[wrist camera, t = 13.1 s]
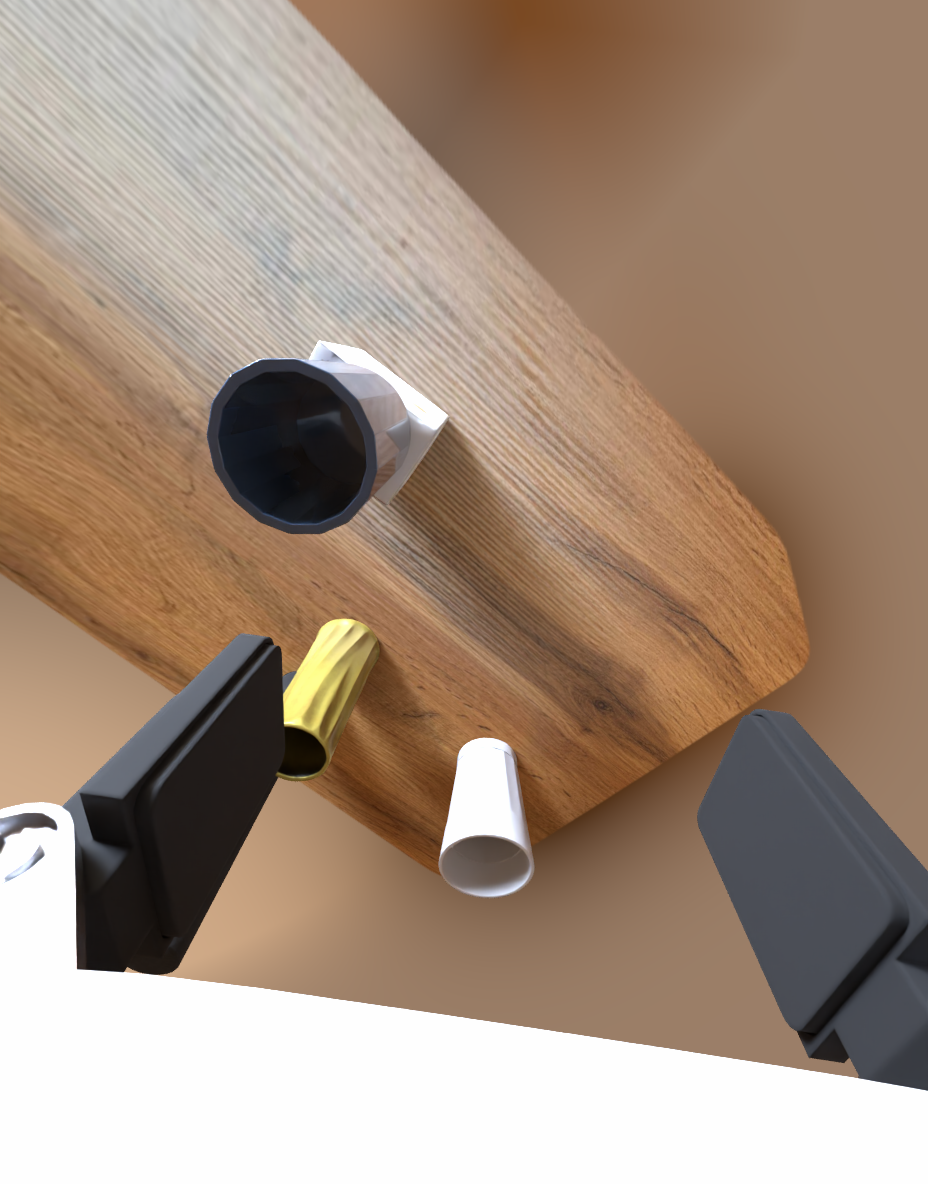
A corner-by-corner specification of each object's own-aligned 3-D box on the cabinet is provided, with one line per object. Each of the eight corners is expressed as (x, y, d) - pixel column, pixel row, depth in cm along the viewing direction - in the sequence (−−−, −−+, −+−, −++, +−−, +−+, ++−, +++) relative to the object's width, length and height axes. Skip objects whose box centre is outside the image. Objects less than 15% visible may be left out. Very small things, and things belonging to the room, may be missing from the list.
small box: (326, 413, 37) (268, 426, 27) (363, 347, 35) (315, 336, 25) (412, 476, 38) (386, 509, 29) (452, 416, 36) (439, 431, 27)
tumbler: (377, 342, 25) (322, 325, 17) (430, 462, 27) (405, 498, 19) (271, 395, 26) (172, 404, 18) (330, 505, 29) (267, 557, 21)
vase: (392, 658, 46) (353, 770, 33) (339, 681, 47) (282, 797, 34) (358, 607, 43) (302, 705, 30) (304, 633, 45) (228, 736, 32)
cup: (470, 797, 53) (465, 907, 42) (436, 747, 50) (421, 850, 39) (536, 775, 51) (549, 884, 40) (504, 721, 48) (509, 822, 37)
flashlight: (298, 718, 49) (337, 700, 48) (145, 993, 27) (209, 971, 26) (267, 683, 48) (306, 663, 46) (78, 945, 26) (142, 920, 24)
